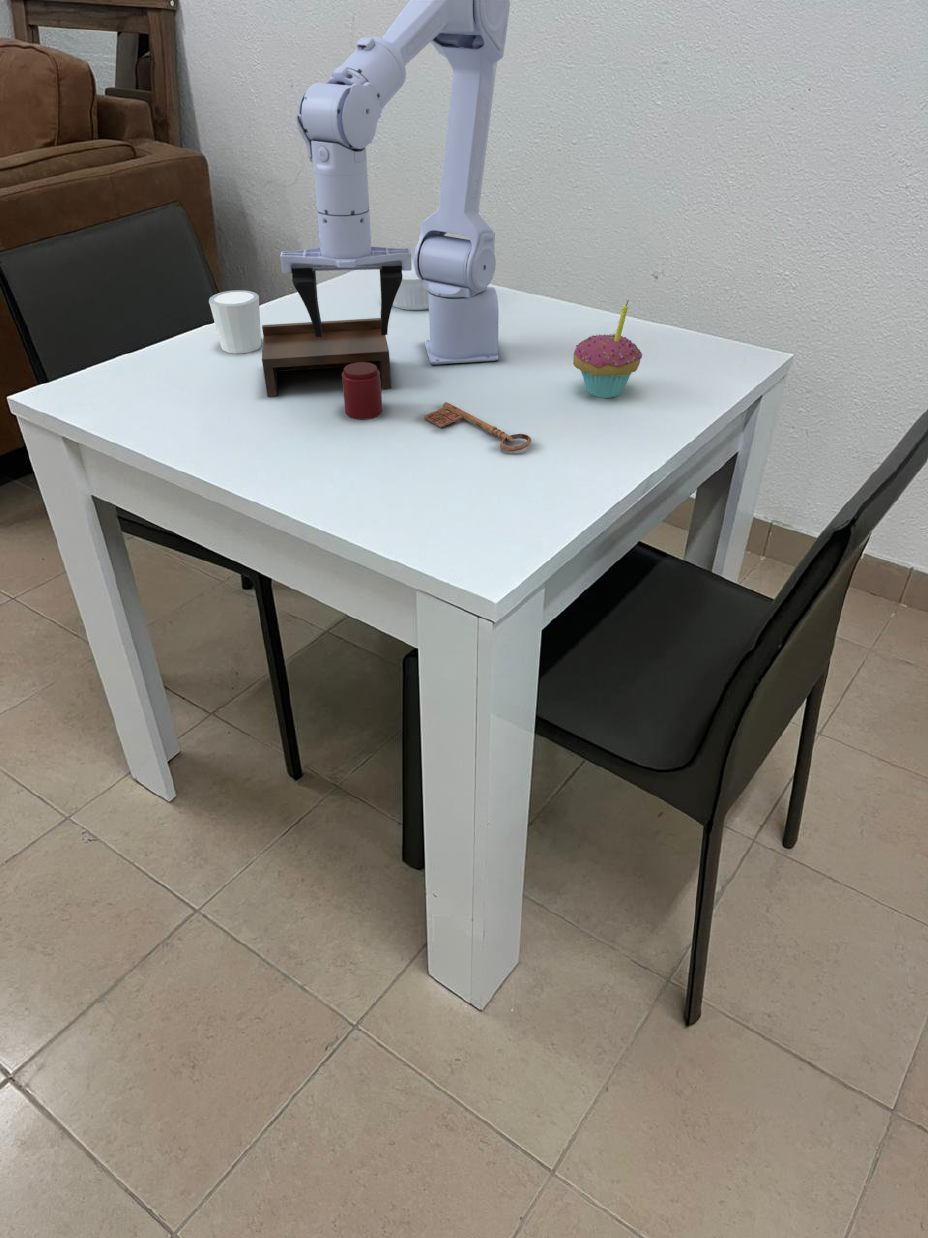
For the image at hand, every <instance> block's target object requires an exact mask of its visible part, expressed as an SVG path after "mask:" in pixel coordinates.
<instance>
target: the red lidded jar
mask: <svg viewBox="0 0 928 1238" xmlns="http://www.w3.org/2000/svg"><path fill="white" fill-rule="evenodd" d="M341 378H342V379H341V381H342V391H343V392H342V393H343V403H344V404H343V405H344V412H345V415H346V416H347V417H349V418H351V419H355V420H368V419H369V420H370V419H373V418H376V417H379V416H380V415H381V414H382V412H383V402H382V385H381V380H380V372H379V370H378V366H377V365H374V364H372V363H367V362H357V363H352V364H349V365H347V366H346V367H343V371H342V373H341Z"/></svg>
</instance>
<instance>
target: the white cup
mask: <svg viewBox="0 0 928 1238" xmlns="http://www.w3.org/2000/svg"><path fill="white" fill-rule="evenodd" d="M208 304H209V306H210V310H211V313H212V314H211V315H212V318H213V321H214V325H215V329H216V332H217V336H218V340H219V344H220V347H221V350H222V351H223V352H225V353H228V354H235V355H236V354H237V355H238V354H247V353H253V352H254V351H257V350H258V349H260V348H261V347H262V333H261V332H262V331H261V330H262V328H261V311H260V296H259V294H258V293H256V292H254V291H251V290H244V289H243V290H241V289H239V290H237V289H236V290H227V291H226V290H225V291H221V292H218V293H215V294H213V295H211V296H210V297H209V299H208Z"/></svg>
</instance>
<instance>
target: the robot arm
mask: <svg viewBox="0 0 928 1238" xmlns="http://www.w3.org/2000/svg"><path fill="white" fill-rule="evenodd" d="M510 6H511V0H408V2H407V3H406V5H405V6H404V7H403V8H402V10H401V11H400V13H399V14H398V16H397V17H396V18H395V20H394V21H393V22H392V23H391V25H390V26H389V28H388V29H387V31H386V32H385V33H384V34H383V35H382V37H379V36H369V37H364V36H363V37H360V38H359V39H358V41H357V42H356V44H355V45H356V49H355V50H354V51H353V52H352V53H351V54H350V55H349V57H347V58H346V60H345V61H344V62H343V63H342V64H341V65H340V66H337V67H336V68H335V69H334V70H333V72H332V75H331V76H330V77H329V78H328V79H327V81H326V82H315V83H313V84H311V85H310V86H309V87H308V89H307V90H305V92H303V94H302V96H301V97H300V101H299V105H298V114H297V115H296V116H295V119H296V120H295V121H296V125H297V129H298V132H299V134H300V135H301V137H302V139H303V140H304V143H305V146H306V154H307V158H308V159H309V162H310V163H312V170H313V179H314V180H313V181H314V193H315V205H316V213H317V214H316V215H317V216H316V217H317V229H318V240H319V247H314V248H306V249H297V250H282V251H281V252H280V255H279V258H280V267H281V273H282V275H283V274H291V277H292V278H291V281H292V284H293V286H294V288H295V290H296V292H297V293H298V295H299V297H300V299H301V300H302V302H303V304H304V306H305V309H306V311H307V314H308V315H309V318H310V320H311V321H310V322H312V324H313V327H314V331H315V337H322V327H321V321H322V319H321V314H320V313H321V312H320V308H319V307H320V306H319V301H318V299H319V298H318V287H317V286H318V285H317V273H316V272H329V271H332V272H333V271H334V272H335V271H371V270H373V271H374V270H379V284H380V318H381V335H386V336H388V331H389V330H388V328H389V322H390V321H389V320H390V317H391V312H392V309H393V302H394V299H395V297H396V294H397V292H398V289H399V287H400V285H401V282H402V270H403V271H407V270H412V266H411V258H413V262H414V268H415V272H416V275H417V277H418V278H419V279H420V280H421V281H423V288H424V289H426V290H428V297H429V309H428V319H429V320H428V322H429V323H428V325H429V340H425V341H424V347H425V351H426V355H427V357H428V360H429V363H430V364H431V365H447V364H449V365H450V364H460V363H461V364H464V363H478V362H492V361H493V362H494V361H498V360H499V359H500V355H499V300H498V294H497V290H496V288H495V287H492V286H489V285H490V284H491V282H493V281H492V280H493V278H494V275H495V271H496V263H497V261H496V254H495V240H496V233H495V231H494V230H493V229H492V227H491V226H490V225H489V224H488V223H487V222H486V220H485V219H484V218H483V217H482V216H481V214H480V213H479V211H480V203H481V196H482V187H483V179H484V172H485V164H486V162H485V161H486V155H487V147H488V139H489V131H490V125H491V124H490V122H491V117H492V116H491V115H492V108H493V107H492V106H493V98H494V91H495V82H496V76H497V75H496V74H497V66H498V62H499V61H501V60H502V59H503V58H504V55H505V48H506V47H505V46H506V40H507V32H508V22H509V16H510ZM429 44H431V45H432V46H433V48H434V49H435V50H436V51H437V52H438V54H439V55H441V56H442V57H444V58H445V59H447V61H448V63H449V65H450V67H451V69H452V79H451V89H450V98H449V109H448V116H447V127H446V128H447V129H446V135H445V143H444V144H445V145H444V154H443V162H442V163H443V164H442V173H441V183H440V191H439V201H438V202H439V203H438V208H437V210H435V211H434V212H433V213H432V214H430V215H429V216H428V217H427V218H425V219H424V220H423V221H422V222H421V224H420V233H419V237H418V240H417V243H416V245H415V248H414V252H413V257H412V250H411V248H405V247H404V248H401V247H400V248H399V247H398V248H397V247H385V246H384V247H383V246H372V235H371V233H372V232H371V216H370V213H371V212H370V199H369V198H370V197H369V179H368V178H369V177H368V158H367V146H368V145H370V144H372V142H373V140H374V138H375V135H376V133H377V128H378V127H377V126H378V122H379V120H380V118H381V117H382V113H383V109H384V108H385V107H386V106H387V104H388V103H389V102H390V101H391V100H392V99H393V98H394V96H396V94H397V93H398V92H399V90H400V89H401V88H402V87H403V86H404V85H405V82H406V77H407V69H406V66H407V65H408V64H409V63H410V62H411V61H413V59H414V58H415V57H416V56H417V55H418V54H419V53H420V52H421V51H423V50H424V49H425V48H426V47H427V46H428V45H429ZM446 234H454V235H461V236H464V237H467V238H468V239H467V238H461V237H456V236H450V235H446Z"/></svg>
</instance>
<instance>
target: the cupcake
mask: <svg viewBox="0 0 928 1238" xmlns="http://www.w3.org/2000/svg"><path fill="white" fill-rule="evenodd" d="M629 302H630V299H627V300H626V302H625V304H624V305H622V308H621V312H620V317H619V319H618V323H617V328H616V331H615V333H613V334H611V333H610V334H596V335H591V336H588V337H587V338H585V339H584V340H582V341H580V342H579V343H578V344H576V345H575V349H574V351H573V355H572V356H573V357H572V358H573V359H572V360H573V362H572V365H573V367H575V368H576V369H577V370H579V371H580V373H581V376H582V378H583V383H584V385H585V386H584V387H585V391H586V392H587V394H589V395H590V396H593V397H596V398H601V399H610V398H615V397H616V398H617V397H619V396H621V395H622V394H623V393H624V390H625V388H626V385H627V383H628V381H629V380H630V379H629V378H630V377H631V375H632V373H636V371H638V369H639V367H640V363H641V359H642V358H643V353H642V352H641V350H640V348H639V347H638V346H637V344H636V343H634V342H633V340H631V339H629V338H627V337H625V336H622V333H623V329H624V325H625V322H626V319H627V318H626V317H627V314H628V308H629V306H628V304H629Z"/></svg>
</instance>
